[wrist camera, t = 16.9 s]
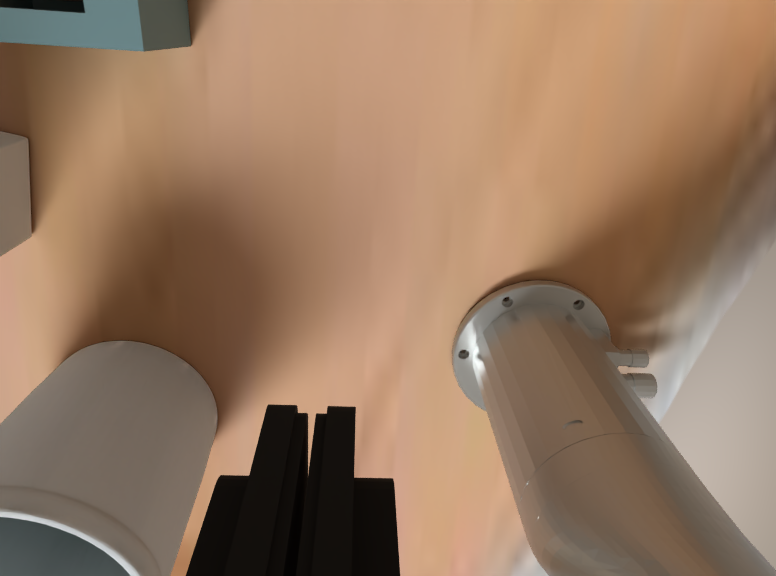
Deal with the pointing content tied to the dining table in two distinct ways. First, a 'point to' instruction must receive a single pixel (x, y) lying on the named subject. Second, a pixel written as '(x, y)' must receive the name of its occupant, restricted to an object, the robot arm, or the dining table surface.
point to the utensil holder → (104, 464)
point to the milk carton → (14, 191)
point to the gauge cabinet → (97, 23)
